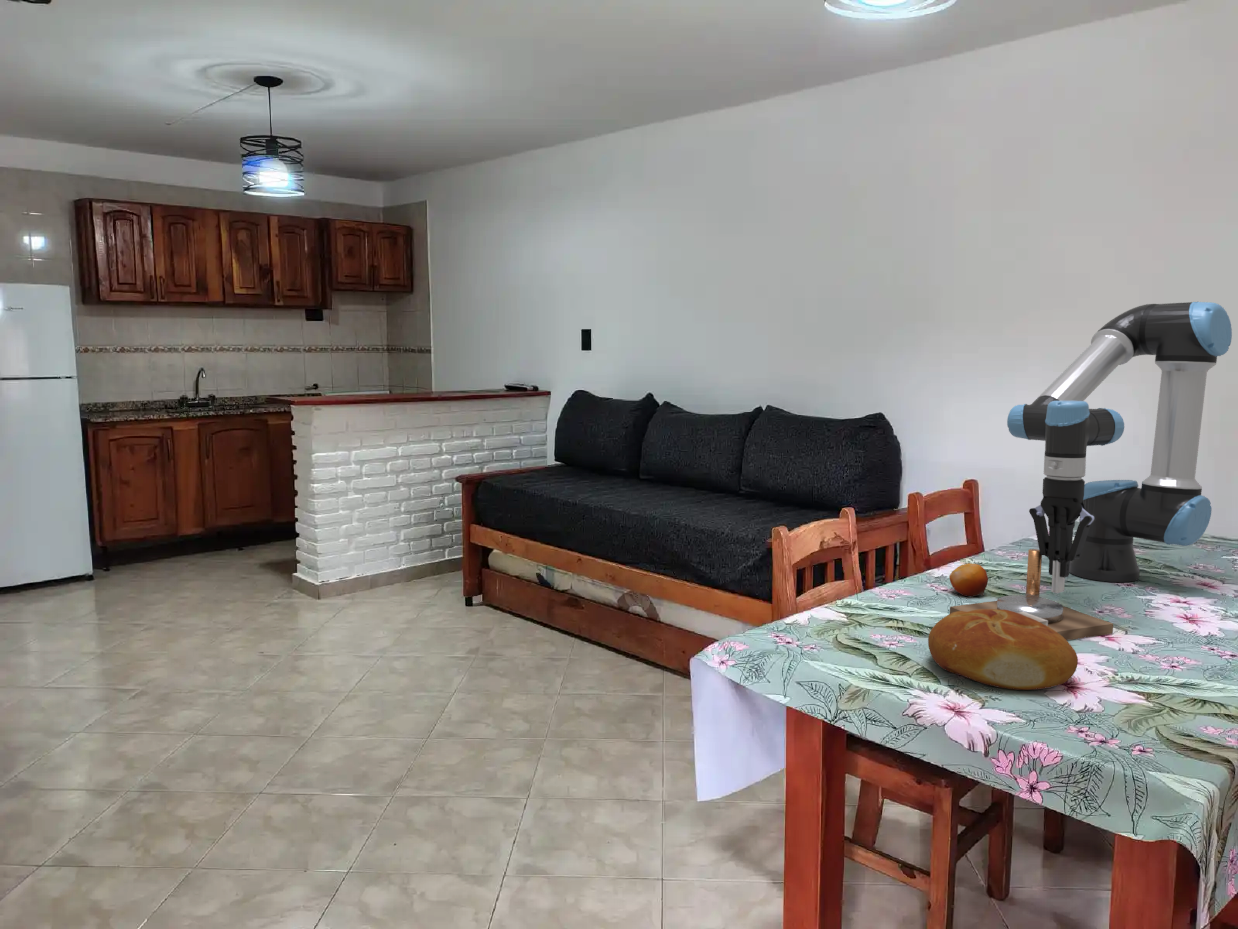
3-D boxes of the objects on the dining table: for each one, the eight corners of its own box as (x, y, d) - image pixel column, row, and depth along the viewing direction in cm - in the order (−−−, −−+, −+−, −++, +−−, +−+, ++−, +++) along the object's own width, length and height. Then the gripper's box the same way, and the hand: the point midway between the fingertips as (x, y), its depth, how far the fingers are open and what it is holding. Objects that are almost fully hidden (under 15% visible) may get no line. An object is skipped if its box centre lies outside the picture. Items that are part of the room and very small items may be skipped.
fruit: (1000, 593, 193) (981, 562, 193) (966, 610, 195) (948, 579, 195) (992, 584, 201) (974, 554, 201) (960, 599, 203) (942, 570, 203)
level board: (1033, 605, 190) (1034, 585, 189) (1112, 633, 171) (1114, 611, 170) (949, 616, 182) (950, 595, 182) (1022, 646, 164) (1023, 624, 163)
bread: (1002, 708, 137) (1005, 646, 136) (899, 659, 158) (901, 605, 157) (1104, 685, 146) (1109, 626, 145) (993, 641, 167) (996, 590, 166)
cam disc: (1061, 626, 168) (1064, 570, 167) (993, 617, 174) (996, 563, 172) (1064, 604, 182) (1067, 552, 181) (1001, 596, 188) (1004, 546, 187)
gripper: (1023, 475, 180) (1018, 588, 183) (1085, 482, 170) (1079, 601, 173) (1043, 472, 185) (1038, 582, 187) (1105, 479, 174) (1098, 595, 177)
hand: (1057, 591), depth 180 cm, fingers closed
